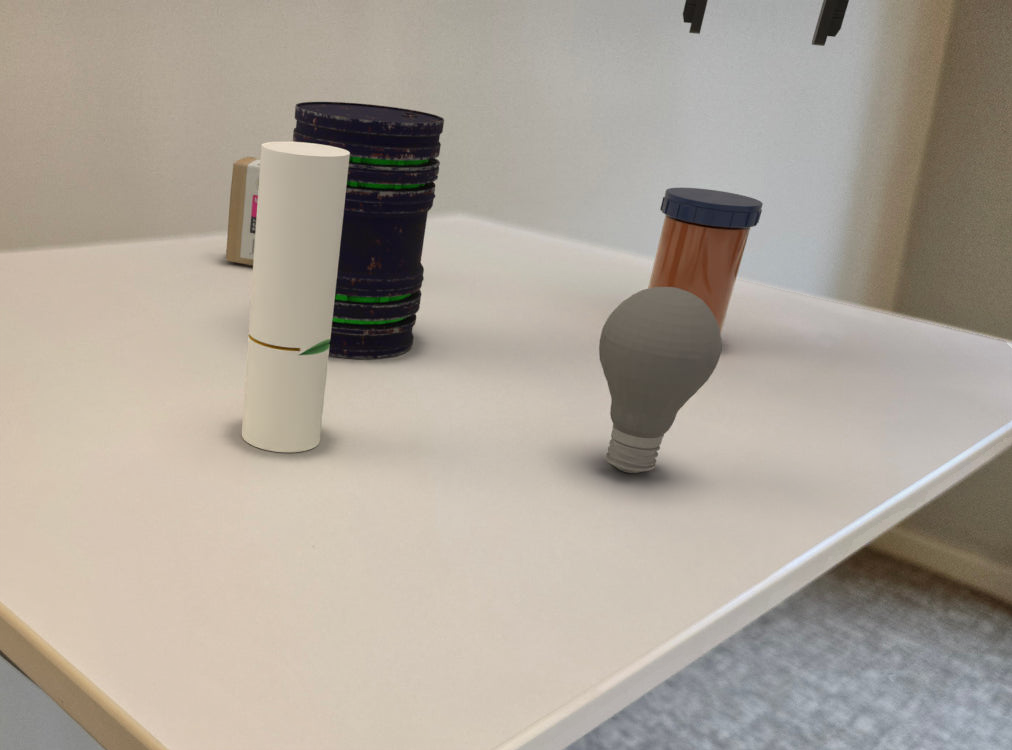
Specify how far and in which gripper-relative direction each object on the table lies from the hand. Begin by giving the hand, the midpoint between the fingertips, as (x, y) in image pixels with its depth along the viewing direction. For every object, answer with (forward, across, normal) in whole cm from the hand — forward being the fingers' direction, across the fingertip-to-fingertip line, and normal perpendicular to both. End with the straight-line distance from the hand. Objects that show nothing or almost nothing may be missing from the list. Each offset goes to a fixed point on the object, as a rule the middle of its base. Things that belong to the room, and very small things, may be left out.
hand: (754, 38), depth 73 cm
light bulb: (+21, +2, +29) cm, 36 cm away
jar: (+21, 0, 0) cm, 21 cm away
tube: (+21, +20, +35) cm, 45 cm away
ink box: (+21, +33, -2) cm, 39 cm away
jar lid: (+11, 0, 0) cm, 11 cm away
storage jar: (+21, +22, +15) cm, 34 cm away
